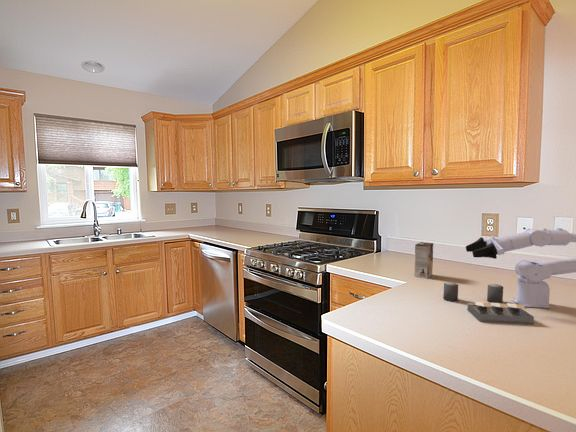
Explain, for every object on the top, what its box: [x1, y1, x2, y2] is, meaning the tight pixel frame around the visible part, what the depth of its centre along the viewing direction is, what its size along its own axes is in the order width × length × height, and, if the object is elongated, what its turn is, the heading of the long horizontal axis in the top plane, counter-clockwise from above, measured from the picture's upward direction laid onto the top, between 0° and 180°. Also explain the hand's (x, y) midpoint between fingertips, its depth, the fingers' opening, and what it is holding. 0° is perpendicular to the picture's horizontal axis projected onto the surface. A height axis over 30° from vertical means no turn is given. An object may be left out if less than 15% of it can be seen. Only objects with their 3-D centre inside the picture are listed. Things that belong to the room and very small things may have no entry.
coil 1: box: [442, 281, 459, 303], centre depth 127 cm, size 5×5×6 cm
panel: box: [466, 302, 535, 325], centre depth 110 cm, size 16×10×3 cm, turn 82°
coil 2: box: [486, 283, 504, 304], centre depth 125 cm, size 5×5×6 cm
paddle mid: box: [491, 302, 508, 308], centre depth 110 cm, size 6×2×1 cm, turn 172°
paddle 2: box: [506, 302, 526, 309], centre depth 110 cm, size 6×2×1 cm, turn 172°
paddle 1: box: [475, 301, 491, 307], centre depth 111 cm, size 6×2×1 cm, turn 172°
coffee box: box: [414, 241, 434, 279], centre depth 162 cm, size 9×6×16 cm
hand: (469, 251), depth 126 cm, fingers open, 7 cm apart
